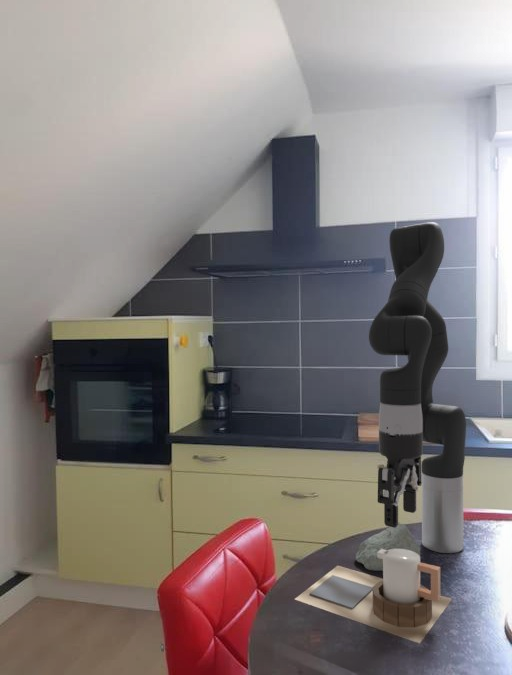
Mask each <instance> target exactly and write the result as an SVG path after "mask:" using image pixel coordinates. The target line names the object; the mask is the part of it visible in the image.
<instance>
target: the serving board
mask: <svg viewBox="0 0 512 675" xmlns="http://www.w3.org/2000/svg"><path fill="white" fill-rule="evenodd" d="M420 588H424V589H427V590H429V589H428V588H427V587H426V586H424V585H423V584H421V583H420ZM452 600H453V598H450V597H447V596H443V595H441V599H440V600H439V601H438V602H436V601H433V600H430V599H427V598H423V597H420V602H418V603H414V604H399V603H395V602H392V601H389V600H387V599H385V598H384V597H383V578H382V577H378V576H375V575H371V574H368V573H365V572H362V571H357V570H354V569H352V568H347V567H344V566H341V565H336V566H335V567H334V568H333V569H331V570H330V571H329V572H327V573H326V574H325V575H324V576H322V577H321V578H319V580H317V581H316V582H315V583H313V584H312V585H311V586H310V587H308V588H307V589H306V590H305V591H303V592H301V594H299V595H298V596H296V597H295V598H294V601H297V602H300V603H303V604H306V605H309V606H312V607H315V608H316V609H321V610H324V611H326V612H329V613H332V614H334V615H337V616H340V617H343V618H346V619H348V620H352V621H353V622H357V623H360V624H364V625H365V626H368V627H371V628H375V629H378V630H380V631H382V632H385V633H388V634H391V635H394V636H396V637H400V638H403V639H406V640H408V641H411V642H414V643H417V644H419V645H420V644H421V642H422V641H423V640H424V639H425V637H426V636H427V634H428V633H429V632H430V630H431V629H432V628H433V626H434V625H435V624H436V622H437V621H438V619H439V618H440V617H441V615H442V614H443V613H444V611H445V610H446V608H447V607H448V606H449V604H450V603H451V602H452Z"/></svg>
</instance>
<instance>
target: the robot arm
mask: <svg viewBox="0 0 512 675" xmlns="http://www.w3.org/2000/svg"><path fill="white" fill-rule="evenodd" d="M389 252H390V257H391V262H392V268H393V272H394V275H395V280H394V282H393V284H392V286H391V288H390V292H389V296H388V300H387V303H385V305H384V306H383V308H381V309H380V311H378V313H377V315H376V316H375V318H374V319H373V321H372V323H371V325H370V328H369V330H368V331H369V333H368V341H369V344H370V347H371V348H372V350H373V352H375V353H377V354H378V355H381V356H406V357H407V363H406V364H405V365H403V366H400V367H395V368H394V367H393V368H390V369H385V370H383V371H382V372H381V373H380V375H379V376H380V377H379V378H380V379H379V410H378V452H379V454H380V455H381V456H383V457H385V458H386V460H387V461H386V467H378V471H377V503H378V504H383V505H384V507H383V508H384V510H383V511H384V512H383V513H384V518H383V519H384V525H385V526H387V527H394V528H395V527H396V526H398V522H399V502H400V498H401V495H402V502H403V503H402V505H403V507H402V508H403V511H404V512H405V513H412V514H414V513H415V512H417V492H418V491H419V486H420V487H421V544H422V546H423V547H424V548H426V549H427V550H430V551H433V552H435V553H441V554H454V553H455V554H456V553H459V552H461V551H463V550H464V467H465V466H464V465H465V459H466V457H465V456H466V455H465V454H466V452H465V451H466V436H467V435H466V434H467V418H466V414H465V412H464V409H462V408H461V407H460V406H456V405H450V404H448V405H447V404H439V403H438V404H437V403H434V400H433V386H434V382H435V379H436V377H437V376H438V373H439V372H440V370H441V368H442V367H443V365H444V363H445V361H446V358H447V357H448V353H449V341H448V340H449V339H448V333H447V325H446V321H445V319H444V318H443V316H442V314H441V313H440V312H439V311H438V309H437V308H436V307H435V306H434V305H433V304H432V303H431V302H430V301H429V299H428V296H429V291H430V288H431V285H432V283H433V281H434V280H435V277H436V275H437V273H438V271H439V268H440V266H441V264H442V261H443V259H444V254H445V238H444V234H443V229H442V228H441V226H440V225H439V224H438V223H437V222H435V221H434V222H433V221H431V222H430V221H429V222H422V223H416V224H410V225H403V226H400V227H394V228H393V229H392V230H391V231H390V234H389ZM423 442H425V443H430V444H435V445H441V446H442V447H443V448H442V453H440V454H437V455H431V456H427V457H425V458H424V459H422V456H423V452H424V450H423V449H424V448H423V447H424V444H423Z"/></svg>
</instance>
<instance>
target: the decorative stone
mask: <svg viewBox="0 0 512 675" xmlns="http://www.w3.org/2000/svg"><path fill="white" fill-rule="evenodd" d="M381 549H384V550H390V549H406V550H410V551H413V552H415V553H417V554H418V555H419V556H420V560H421V550H422V548H421V546H420V545H419V543H417V542H416V541H415V538H414V536H413V535H412V533H411V531H410V530H409V527H408V526H407V524H404V523H401V522H399V521H398V526H396V527H395V528H394V527H390V526H388V527H387V528H386V529H384V530H381V531H380V532H379V533H376V534H373V535H372V536H370V537H368V538H366V539H365V540H363V541H362V542H361V543H360V545H359V548H358V551H357V552H356V554H355V560H356V562H358V563H359V564H362V565H363V566H364V568H365V569H366V570H368V571H382V572H383V559H380V558H377V552H378V551H379V550H381Z"/></svg>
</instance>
